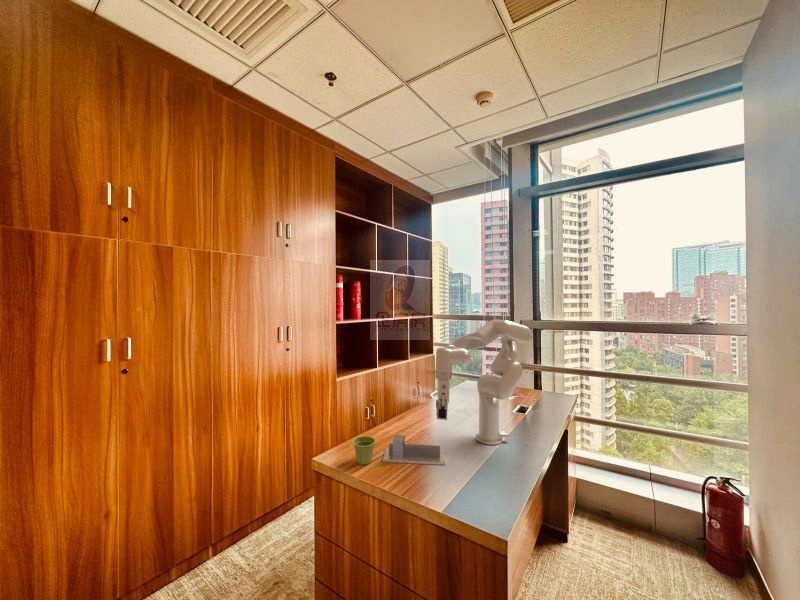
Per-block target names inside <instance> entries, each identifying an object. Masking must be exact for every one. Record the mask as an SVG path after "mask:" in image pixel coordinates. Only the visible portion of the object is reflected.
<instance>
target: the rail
mask: <svg viewBox="0 0 800 600" xmlns="http://www.w3.org/2000/svg"><path fill="white" fill-rule="evenodd" d="M382 462H383V463H399V464H415V465H416V464H419V465H423V464H424V465H436V466H437V465H438V466H439V465H441V466H446V458H445V450H444V449H441V445H432V444H431V445H430V444H429V445H427V444H411V443H410V444H409V443H407V444H406V435H404V434H393V438H392V443H389V444H388V446H387V447H386V448H385V451H384V454H383V459H382Z"/></svg>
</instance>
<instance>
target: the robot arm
mask: <svg viewBox="0 0 800 600" xmlns="http://www.w3.org/2000/svg"><path fill="white" fill-rule="evenodd" d="M498 338H500V340H501V348H500V349H499V352H498V353H497V355H496V357H495V358H494V359H493V362H492V363H491V365H490V371H491V373H492V374H493V375H492V374H482V375H480V377H479V378H478V379H477V383H476V387H477V392H478V402H479V403H478V407H479V408H478V433H476V434H475V439H476V441H477V442H479V443H481V444H483V445H488V446H496V445H500V444H502V443H503V438H510V433H508V432H507V433H506V432H505V431H500V401H502V400H503V401H505V400H507V399H509V398H510V397H511V396H512V393H513V392H514V390H515V389H516V387H517V386H518V384H519V383H520V381H521V378H522V377H523V371H524V370H523V366H522V364H521V362H519V361H517V358H518V354H519V350H518V346H517V343H519V344H527V343H529V342H530V341H531V340H532V338H533V333H532V330H531V328H529V327H528V326H526V325H523V324H520V323H518V322H514V321H510V320H507V319H506V320H505V319H492V320H490V321H488V322H487V323H485V324H484V325H483V326H481V327H480V328H479V329H477V330H475V331H474V332H471V333H469V334H467V335H463V336H461V337H459V338H457V339H455V340H452V342H450V343H449V344H448V345H446V346H445V347H438V348H437V349H436V352H435V354H436V355H435V373H434V379H436V380H437V384H436V385H437V389H436V391H437V399H438V401H439V402H440V406H439V415H438V417H439V418H446V402H447V403H448V404H449V403H450V381H452V379H453V365H460V366H461V365H462V366H463V365H465V364H467V363H469V361H470V360H471V354H470V352H469V350H478V349H482V348H483V349H484V348H485V347H487V346H488V345H490V344H491V343H492V342H493V341H494V340H496V339H498ZM441 400H442V401H441ZM499 400H500V401H499ZM441 403H442V404H441Z"/></svg>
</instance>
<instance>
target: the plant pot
mask: <svg viewBox="0 0 800 600" xmlns="http://www.w3.org/2000/svg"><path fill="white" fill-rule="evenodd" d="M352 444H353V447H354V450H355V451H354V452H355V457H356V463H357V464H358V465H362V466H363V465H369V464H371V463H372V458H373V453H374V447H375V444H376V439H375V438H374V437H372V436H370V435H369V436H367V435H366V436H365V435H361V436H358V437H356V438H354V439H353V440H352Z"/></svg>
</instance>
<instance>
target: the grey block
mask: <svg viewBox="0 0 800 600" xmlns="http://www.w3.org/2000/svg"><path fill="white" fill-rule="evenodd" d="M435 401H436V402H435V408H436V413H435V415H436V420H442V421H443V420H444V421H448V405H449V403H448V402H446V418H439V417H438V415H439V406H440V402H439V401H438V398H437V399H436V400H435ZM441 401H442V400H441ZM441 404H442V403H441Z"/></svg>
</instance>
